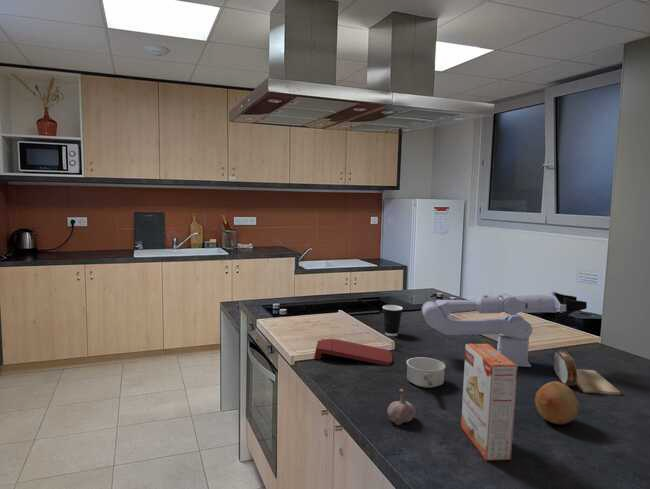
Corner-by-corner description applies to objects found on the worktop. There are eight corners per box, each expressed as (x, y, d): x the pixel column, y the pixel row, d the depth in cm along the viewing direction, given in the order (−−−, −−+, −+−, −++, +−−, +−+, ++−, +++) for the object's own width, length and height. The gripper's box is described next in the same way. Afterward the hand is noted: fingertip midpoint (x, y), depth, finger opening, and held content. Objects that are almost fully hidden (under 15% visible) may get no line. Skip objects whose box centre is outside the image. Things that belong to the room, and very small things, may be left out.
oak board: (583, 392, 133) (583, 389, 133) (561, 370, 150) (561, 368, 150) (620, 395, 132) (621, 392, 132) (594, 372, 149) (594, 370, 149)
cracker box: (458, 428, 110) (464, 342, 108) (483, 427, 110) (489, 342, 108) (484, 462, 96) (490, 364, 94) (511, 461, 97) (519, 364, 94)
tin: (576, 390, 134) (579, 362, 133) (565, 389, 135) (567, 361, 134) (561, 371, 149) (563, 346, 148) (550, 370, 149) (553, 345, 149)
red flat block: (387, 363, 162) (316, 349, 163) (390, 350, 162) (319, 335, 163) (390, 377, 150) (313, 361, 151) (393, 362, 149) (316, 347, 151)
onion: (576, 436, 108) (580, 394, 107) (530, 423, 113) (533, 384, 112) (579, 419, 116) (582, 381, 115) (536, 409, 121) (539, 372, 120)
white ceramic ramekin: (407, 401, 124) (408, 381, 123) (404, 373, 144) (405, 355, 143) (451, 405, 122) (452, 384, 122) (442, 376, 142) (443, 358, 142)
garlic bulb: (395, 429, 108) (397, 397, 108) (379, 415, 115) (381, 384, 114) (422, 424, 112) (424, 392, 111) (405, 411, 118) (407, 380, 117)
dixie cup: (401, 332, 187) (403, 305, 186) (401, 338, 179) (402, 310, 178) (381, 330, 188) (383, 304, 187) (380, 336, 180) (381, 308, 179)
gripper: (544, 296, 146) (590, 295, 144) (530, 287, 160) (572, 286, 158) (545, 318, 146) (590, 317, 144) (530, 307, 161) (572, 306, 159)
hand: (581, 302), depth 151 cm, fingers open, 7 cm apart
